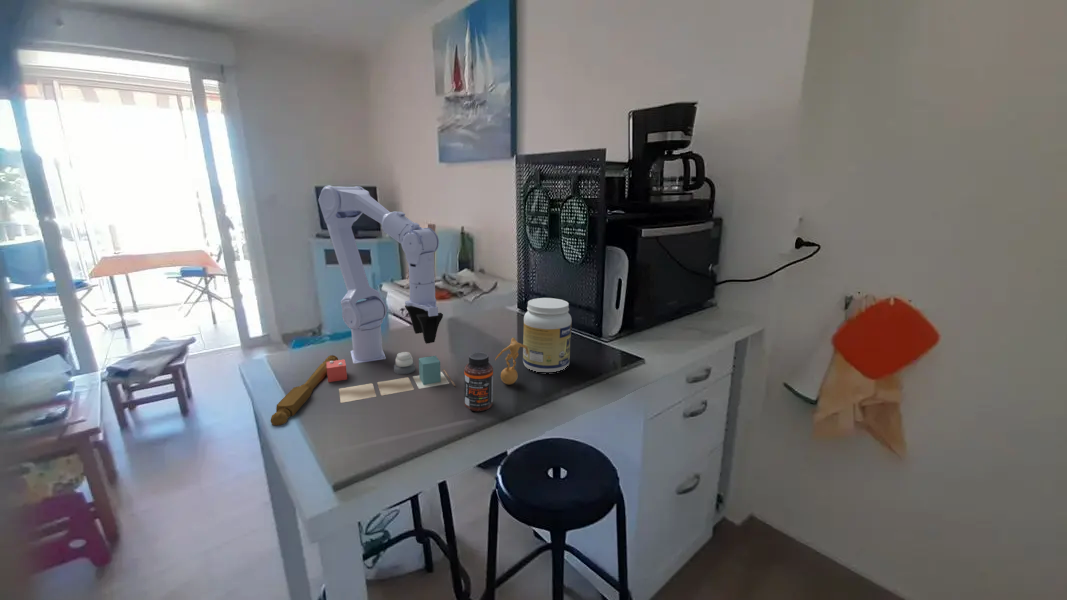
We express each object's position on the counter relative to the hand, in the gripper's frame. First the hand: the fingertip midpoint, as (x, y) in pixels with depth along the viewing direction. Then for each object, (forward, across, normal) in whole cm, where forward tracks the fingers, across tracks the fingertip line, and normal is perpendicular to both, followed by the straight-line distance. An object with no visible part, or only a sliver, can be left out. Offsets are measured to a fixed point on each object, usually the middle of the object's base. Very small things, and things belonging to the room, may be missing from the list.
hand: (424, 337), depth 102 cm
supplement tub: (+10, +10, +29) cm, 32 cm away
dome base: (+9, -3, -4) cm, 11 cm away
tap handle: (+10, -4, -25) cm, 27 cm away
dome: (+7, -3, -4) cm, 9 cm away
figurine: (+10, +16, +15) cm, 24 cm away
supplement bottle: (+10, +20, +4) cm, 23 cm away
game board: (+9, +4, -8) cm, 13 cm away
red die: (+9, -7, -19) cm, 22 cm away
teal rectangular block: (+9, +5, -1) cm, 10 cm away
